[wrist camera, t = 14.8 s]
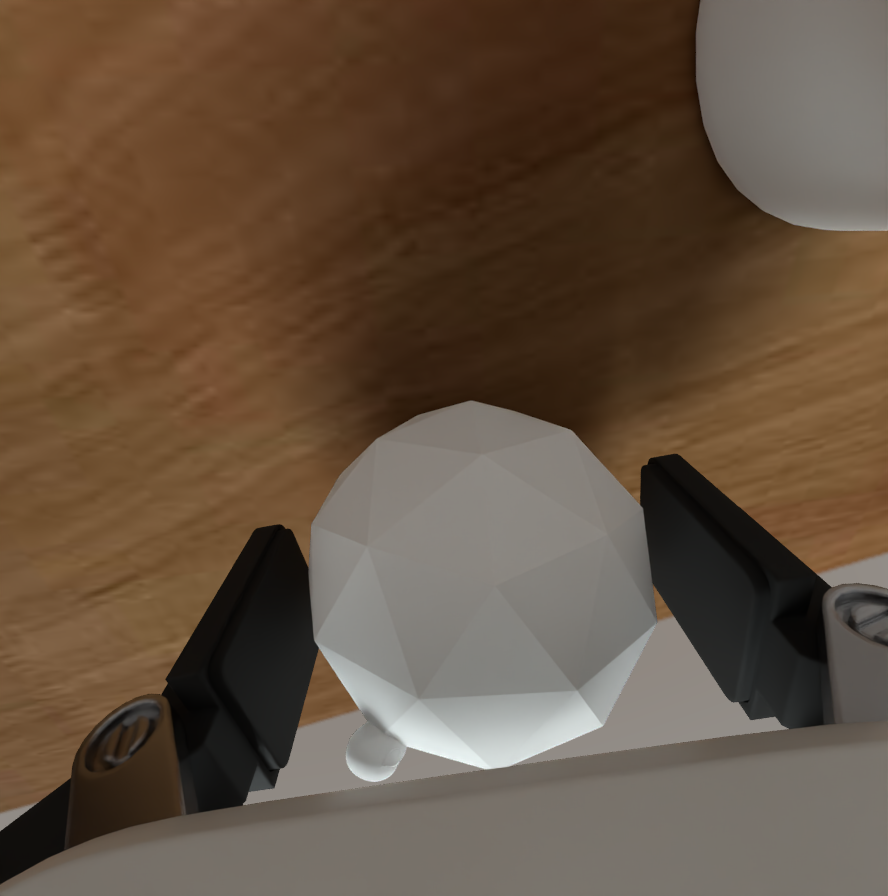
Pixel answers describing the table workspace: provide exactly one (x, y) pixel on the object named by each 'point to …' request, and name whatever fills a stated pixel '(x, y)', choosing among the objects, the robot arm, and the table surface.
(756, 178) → the bottle
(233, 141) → the table surface
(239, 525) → the table surface
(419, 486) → the ornament
